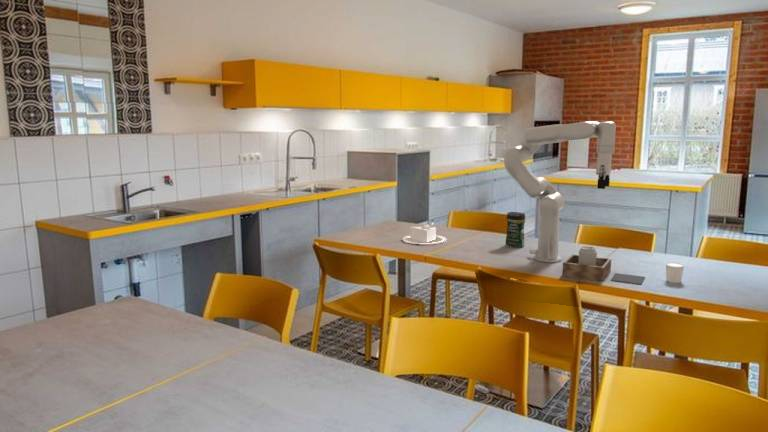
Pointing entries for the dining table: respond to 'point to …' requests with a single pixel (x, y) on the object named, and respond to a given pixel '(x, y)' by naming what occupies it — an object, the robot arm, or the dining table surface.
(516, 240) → the coffee jar
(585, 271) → the crate
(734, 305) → the dining table surface
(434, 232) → the dish
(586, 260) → the can
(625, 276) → the mat
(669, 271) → the shot glass
